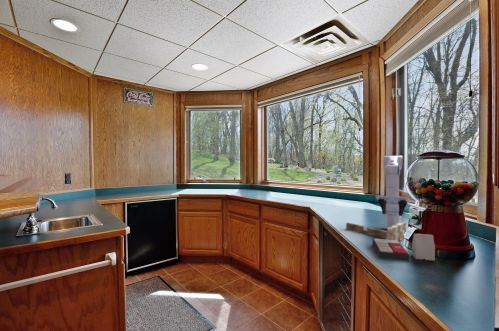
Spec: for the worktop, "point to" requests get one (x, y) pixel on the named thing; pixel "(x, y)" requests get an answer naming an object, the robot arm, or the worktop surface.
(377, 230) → the walnut stand
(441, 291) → the worktop surface
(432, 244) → the tea bag
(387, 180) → the robot arm
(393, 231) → the cross piece
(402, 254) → the calculator
